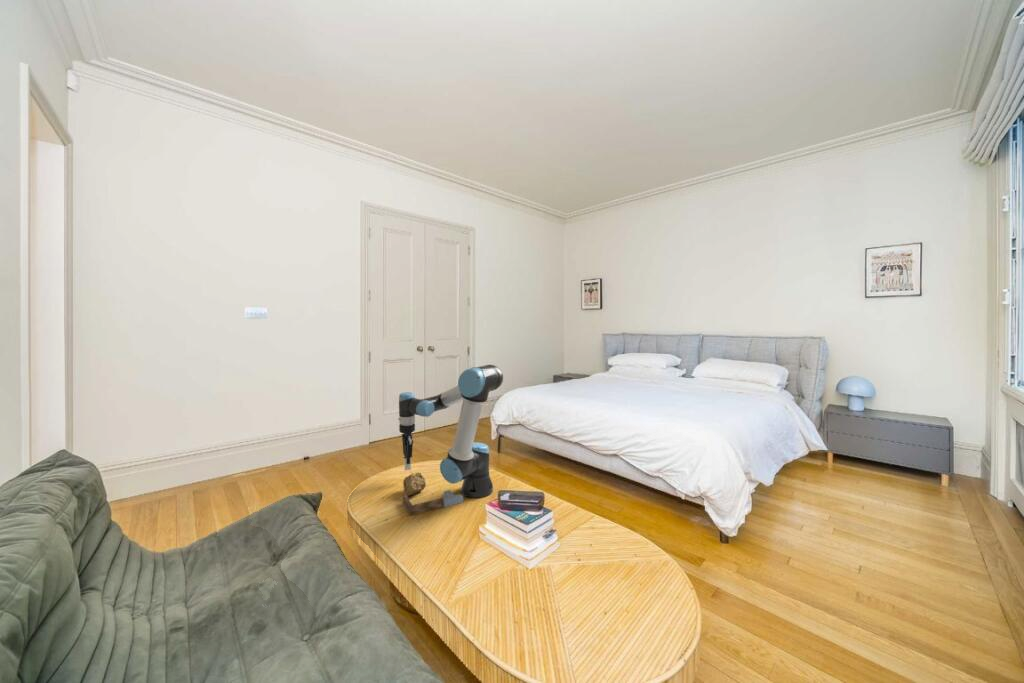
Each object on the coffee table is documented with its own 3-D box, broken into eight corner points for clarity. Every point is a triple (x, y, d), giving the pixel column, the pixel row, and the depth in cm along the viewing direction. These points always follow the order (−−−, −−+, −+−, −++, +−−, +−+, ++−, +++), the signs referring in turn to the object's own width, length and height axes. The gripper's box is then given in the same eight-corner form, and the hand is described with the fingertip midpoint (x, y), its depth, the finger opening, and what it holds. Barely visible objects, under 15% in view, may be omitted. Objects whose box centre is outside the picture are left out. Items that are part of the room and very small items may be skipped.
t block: (455, 494, 186) (455, 488, 186) (463, 502, 178) (463, 496, 178) (437, 499, 182) (437, 492, 181) (444, 507, 174) (444, 501, 174)
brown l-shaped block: (434, 495, 185) (434, 488, 185) (443, 506, 175) (443, 499, 174) (402, 503, 178) (402, 495, 178) (410, 515, 167) (409, 507, 167)
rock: (402, 490, 190) (401, 470, 190) (423, 486, 195) (422, 467, 194) (406, 501, 180) (405, 480, 179) (428, 496, 184) (428, 476, 183)
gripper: (396, 421, 199) (397, 466, 201) (402, 428, 188) (403, 475, 190) (411, 419, 203) (411, 463, 205) (418, 426, 191) (418, 472, 193)
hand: (407, 469), depth 197 cm, fingers closed
